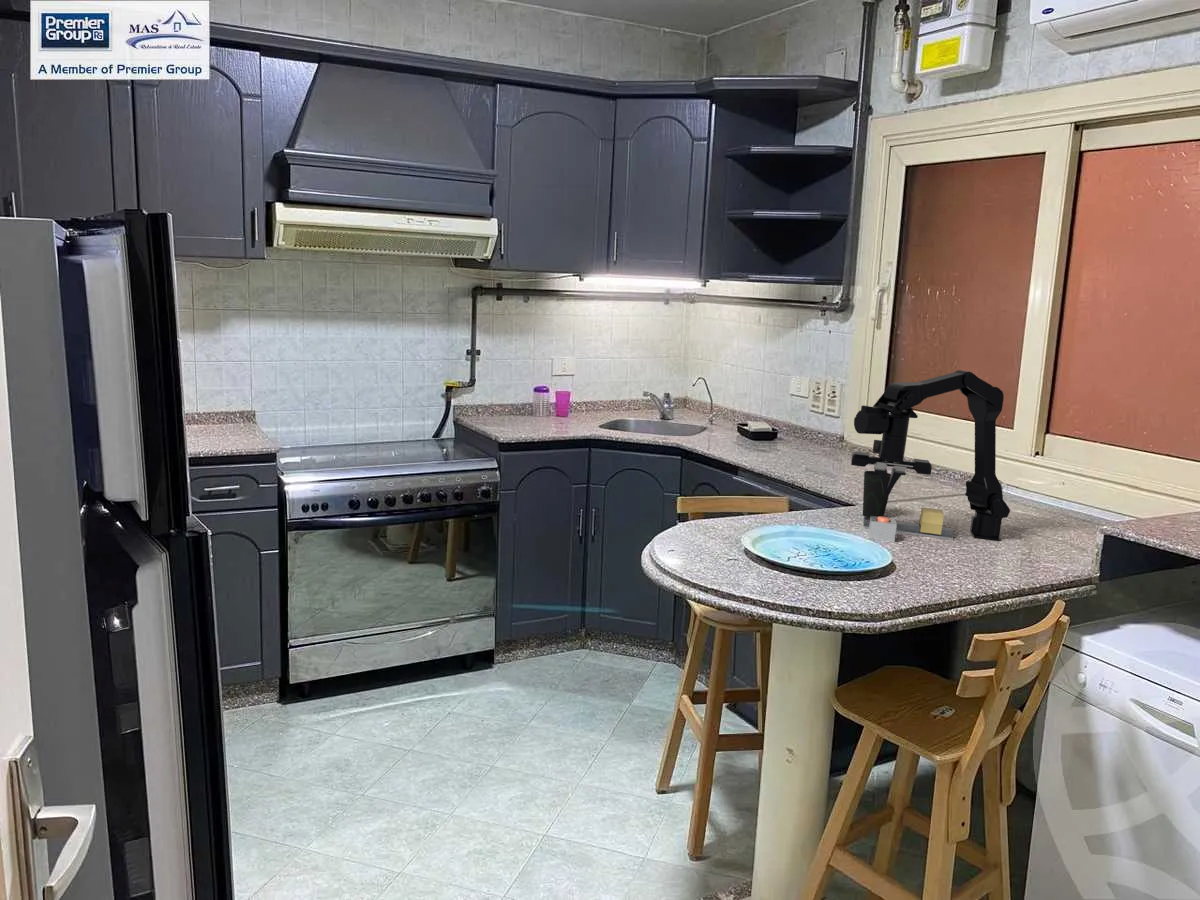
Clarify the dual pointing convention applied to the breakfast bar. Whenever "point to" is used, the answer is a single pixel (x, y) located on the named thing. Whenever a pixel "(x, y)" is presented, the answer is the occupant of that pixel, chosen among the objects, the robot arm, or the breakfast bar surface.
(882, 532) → the cabinet
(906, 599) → the breakfast bar surface
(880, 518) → the button
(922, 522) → the carriage
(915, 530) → the rail
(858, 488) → the breakfast bar surface
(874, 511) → the cup
